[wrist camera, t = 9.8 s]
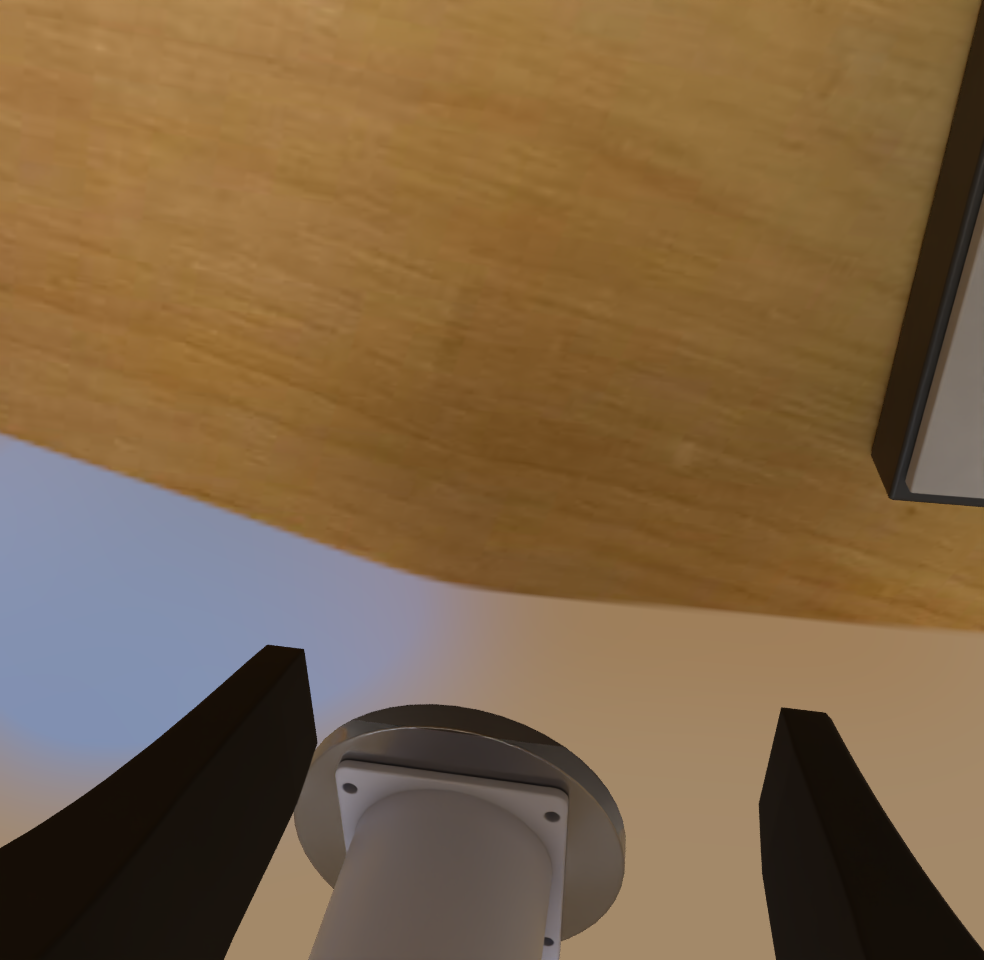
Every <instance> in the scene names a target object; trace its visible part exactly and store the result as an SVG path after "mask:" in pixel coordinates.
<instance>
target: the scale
mask: <svg viewBox="0 0 984 960" xmlns="http://www.w3.org/2000/svg"><path fill="white" fill-rule="evenodd" d="M871 456H872V459H873V461H874V464H875V466H876V468H877V471H878V473H879V475H880V478H881V480H882V482H883V485H884V487H885V490H886V492H887V494H888V497H889V498H890V499H892V500H902V501H914V502H927V503H939V504H952V505H964V506H976V507H984V0H983V2H982V6H981V10H980V14H979V18H978V22H977V26H976V30H975V34H974V39H973V43H972V47H971V51H970V55H969V59H968V63H967V67H966V71H965V75H964V79H963V83H962V87H961V91H960V95H959V100H958V104H957V108H956V112H955V116H954V120H953V124H952V128H951V132H950V136H949V140H948V144H947V148H946V152H945V156H944V161H943V165H942V169H941V173H940V177H939V181H938V185H937V189H936V193H935V197H934V201H933V205H932V209H931V213H930V217H929V222H928V226H927V230H926V234H925V238H924V242H923V246H922V250H921V254H920V258H919V262H918V266H917V270H916V274H915V278H914V283H913V287H912V291H911V295H910V299H909V303H908V307H907V311H906V315H905V319H904V323H903V327H902V331H901V335H900V339H899V343H898V348H897V352H896V356H895V360H894V364H893V368H892V372H891V376H890V380H889V384H888V388H887V392H886V396H885V400H884V404H883V409H882V413H881V417H880V421H879V425H878V429H877V433H876V437H875V441H874V445H873V449H872V453H871Z"/></svg>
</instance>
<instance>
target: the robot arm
mask: <svg viewBox="0 0 984 960" xmlns="http://www.w3.org/2000/svg"><path fill="white" fill-rule="evenodd" d="M316 746H317V736H316V729H315V722H314V715H313V708H312V701H311V694H310V687H309V680H308V673H307V666H306V660H305V653H304V649H299V648H291V647H282V646H274V645H266V646H265V647H264V648H263V649H262V650H260V651H259V652H258V653H257V654H256V655H255V656H253V657H252V658H251V659H250V660H249V661H247V662H246V663H245V664H244V665H243V666H242V667H241V668H240V669H238V670H237V671H236V672H235V673H234V674H233V675H232V676H231V677H229V678H228V679H227V680H226V681H225V682H224V683H223V684H222V685H220V686H219V687H218V688H217V689H216V690H215V691H213V692H212V693H211V694H210V695H209V696H208V697H207V698H205V699H204V700H203V701H202V702H201V703H200V704H199V705H197V706H196V707H195V708H194V709H193V710H192V711H190V712H189V713H188V714H187V715H186V716H185V717H183V718H182V719H181V720H180V721H178V722H177V723H176V724H175V725H174V726H173V727H171V728H170V729H169V730H168V731H167V732H165V733H164V734H163V735H162V736H161V737H159V738H158V739H157V740H156V741H155V742H153V743H152V744H151V745H150V746H148V747H147V748H146V749H144V750H143V751H142V752H140V753H139V754H138V755H137V756H135V757H134V758H133V759H131V760H130V761H129V762H128V763H126V764H125V765H124V766H123V767H121V768H120V769H119V770H117V771H116V772H115V773H113V774H112V775H111V776H109V777H108V778H107V779H106V780H104V781H103V782H101V783H100V784H99V785H97V786H96V787H95V788H93V789H92V790H90V791H89V792H88V793H86V794H85V795H84V796H82V797H80V798H79V799H78V800H76V801H75V802H73V803H72V804H70V805H69V806H67V807H66V808H64V809H63V810H61V811H60V812H58V813H56V814H55V815H54V816H52V817H51V818H49V819H47V820H46V821H44V822H43V823H41V824H40V825H38V826H37V827H35V828H33V829H32V830H30V831H29V832H27V833H25V834H23V835H22V836H20V837H18V838H17V839H15V840H13V841H11V842H10V843H8V844H7V845H5V846H3V847H1V848H0V960H224V958H225V956H226V953H227V951H228V949H229V947H230V944H231V942H232V940H233V937H234V935H235V933H236V931H237V929H238V927H239V925H240V923H241V921H242V919H243V917H244V914H245V912H246V910H247V908H248V906H249V904H250V902H251V900H252V898H253V896H254V893H255V892H256V889H257V887H258V885H259V883H260V881H261V879H262V877H263V875H264V873H265V871H266V869H267V867H268V865H269V862H270V860H271V858H272V856H273V854H274V851H275V850H276V848H277V846H278V844H279V841H280V839H281V837H282V835H283V833H284V831H285V828H286V827H287V824H288V822H289V820H290V818H291V816H292V814H293V812H294V809H295V807H296V805H297V803H298V800H299V797H300V794H301V791H302V788H303V785H304V782H305V780H306V777H307V774H308V771H309V767H310V764H311V761H312V758H313V755H314V752H315V748H316ZM335 778H336V785H337V791H338V798H339V805H340V812H341V819H342V826H343V833H344V840H345V847H346V854H347V855H346V857H345V860H344V863H343V866H342V868H341V871H340V874H339V877H338V879H337V882H336V885H335V888H334V890H333V893H332V896H331V899H330V901H329V904H328V907H327V910H326V913H325V915H324V918H323V921H322V924H321V926H320V929H319V932H318V934H317V937H316V940H315V943H314V946H313V948H312V951H311V954H310V956H309V959H308V960H559V956H560V945H561V927H562V910H563V892H564V875H565V857H566V839H567V822H568V804H569V799H568V796H567V795H566V793H565V792H563V791H561V790H560V789H557V788H552V787H544V786H537V785H530V784H522V783H515V782H508V781H500V780H493V779H486V778H478V777H471V776H464V775H456V774H449V773H442V772H434V771H427V770H420V769H412V768H405V767H398V766H390V765H383V764H376V763H368V762H361V761H354V760H345V761H342V762H341V763H340V764H339V765H338V767H337V770H336V773H335ZM759 819H760V839H761V840H760V841H761V860H762V875H763V881H764V888H765V894H766V901H767V907H768V913H769V919H770V925H771V932H772V938H773V944H774V950H775V956H776V960H984V951H983V950H982V948H981V947H980V946H979V944H978V943H977V942H976V941H975V940H974V938H973V937H972V936H971V934H970V933H969V932H968V931H967V929H966V928H965V927H964V925H963V924H962V923H961V921H960V920H959V919H958V917H957V916H956V915H955V913H954V912H953V911H952V909H951V908H950V907H949V905H948V904H947V902H946V901H945V900H944V898H943V897H942V896H941V894H940V893H939V891H938V890H937V889H936V887H935V886H934V885H933V883H932V882H931V881H930V879H929V878H928V876H927V875H926V873H925V872H924V871H923V869H922V867H921V866H920V865H919V863H918V862H917V860H916V859H915V857H914V856H913V854H912V853H911V851H910V850H909V848H908V847H907V845H906V844H905V842H904V841H903V839H902V838H901V836H900V835H899V833H898V832H897V830H896V828H895V827H894V825H893V824H892V822H891V821H890V819H889V818H888V816H887V815H886V813H885V811H884V810H883V808H882V807H881V805H880V803H879V802H878V800H877V799H876V797H875V795H874V794H873V792H872V790H871V789H870V787H869V785H868V783H867V782H866V780H865V779H864V777H863V775H862V773H861V772H860V770H859V768H858V767H857V765H856V763H855V761H854V760H853V758H852V756H851V755H850V752H849V751H848V749H847V747H846V745H845V743H844V742H843V740H842V738H841V736H840V734H839V733H838V731H837V729H836V727H835V725H834V723H833V721H832V720H831V718H830V717H829V716H828V715H827V714H826V713H823V712H815V711H807V710H798V709H791V708H781V711H780V715H779V719H778V724H777V728H776V732H775V737H774V741H773V745H772V750H771V754H770V758H769V763H768V767H767V771H766V775H765V780H764V784H763V788H762V792H761V797H760V801H759Z"/></svg>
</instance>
